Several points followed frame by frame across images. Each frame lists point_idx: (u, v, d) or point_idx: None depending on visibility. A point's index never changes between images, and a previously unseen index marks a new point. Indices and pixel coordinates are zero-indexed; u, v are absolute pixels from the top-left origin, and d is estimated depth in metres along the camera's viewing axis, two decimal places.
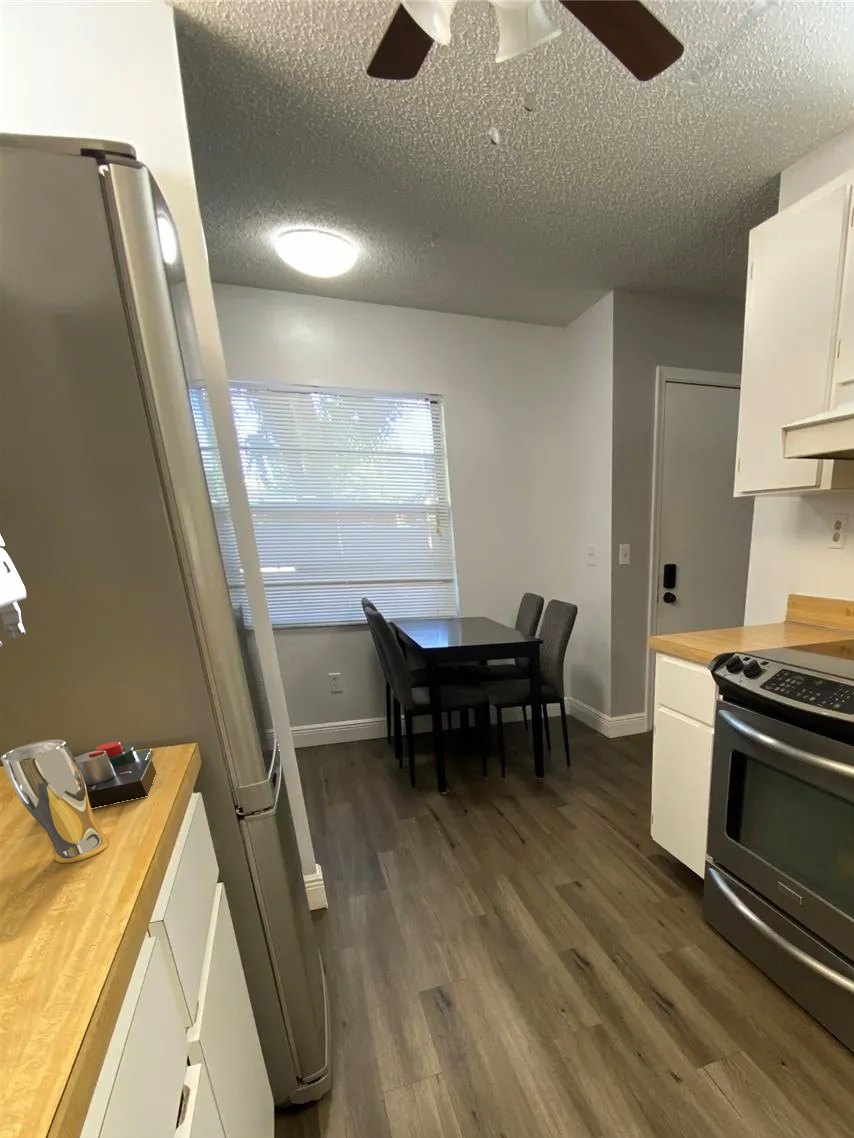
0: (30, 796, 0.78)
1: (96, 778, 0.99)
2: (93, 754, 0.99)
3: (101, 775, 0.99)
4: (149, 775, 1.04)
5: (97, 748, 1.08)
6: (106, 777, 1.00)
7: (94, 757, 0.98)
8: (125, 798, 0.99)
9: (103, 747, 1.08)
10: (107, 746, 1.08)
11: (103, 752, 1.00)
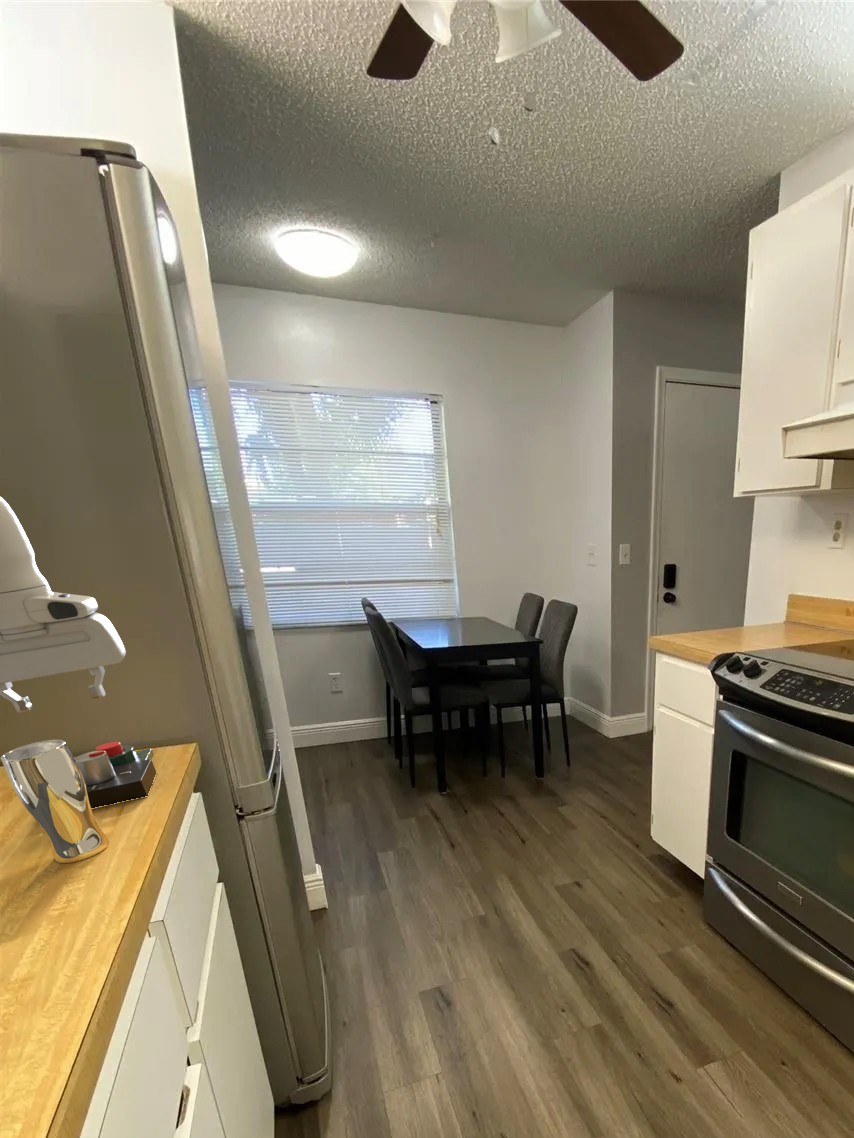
0: (30, 796, 0.78)
1: (96, 778, 0.99)
2: (93, 754, 0.99)
3: (101, 775, 0.99)
4: (149, 775, 1.04)
5: (97, 748, 1.08)
6: (106, 777, 1.00)
7: (94, 757, 0.98)
8: (125, 798, 0.99)
9: (103, 747, 1.08)
10: (107, 746, 1.08)
11: (103, 752, 1.00)
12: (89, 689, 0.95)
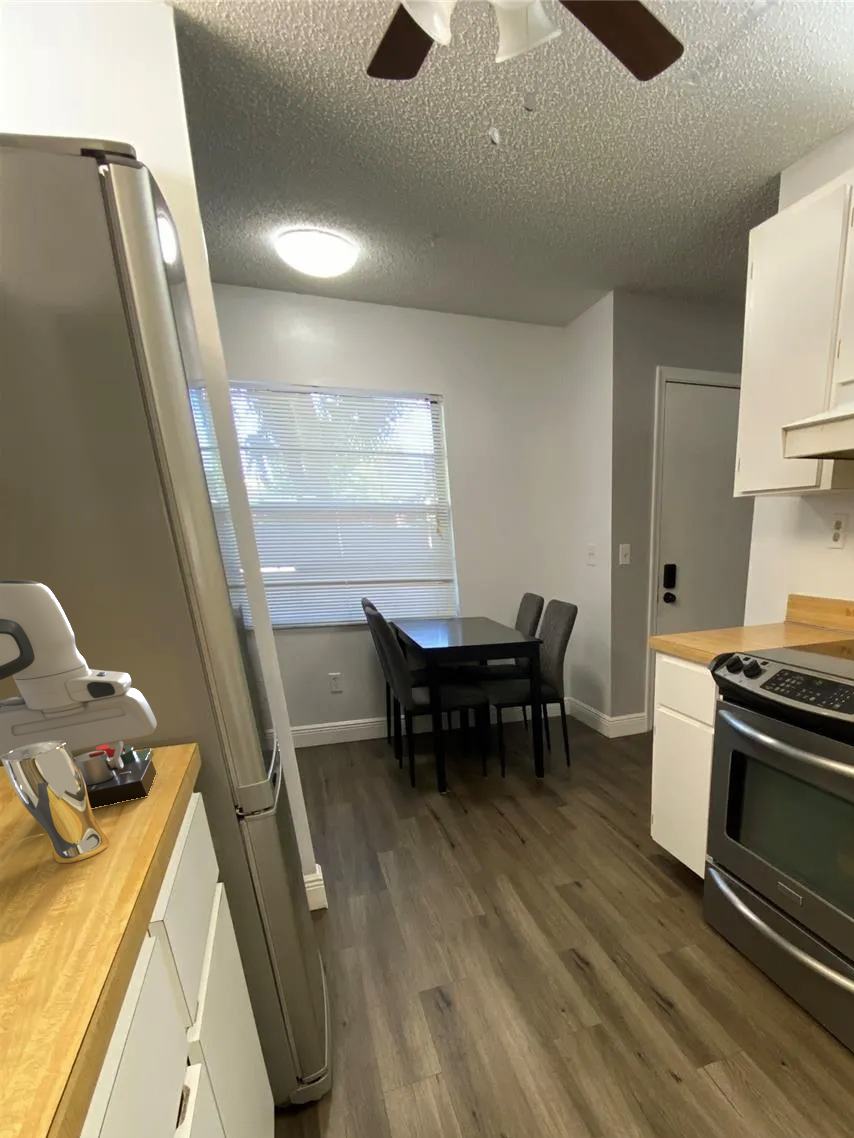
0: (30, 796, 0.78)
1: (96, 778, 0.99)
2: (93, 754, 0.99)
3: (101, 775, 0.99)
4: (149, 775, 1.04)
5: (97, 748, 1.08)
6: (106, 777, 1.00)
7: (94, 757, 0.98)
8: (125, 798, 0.99)
9: (103, 747, 1.08)
10: (107, 746, 1.08)
11: (103, 752, 1.00)
12: (109, 762, 1.00)
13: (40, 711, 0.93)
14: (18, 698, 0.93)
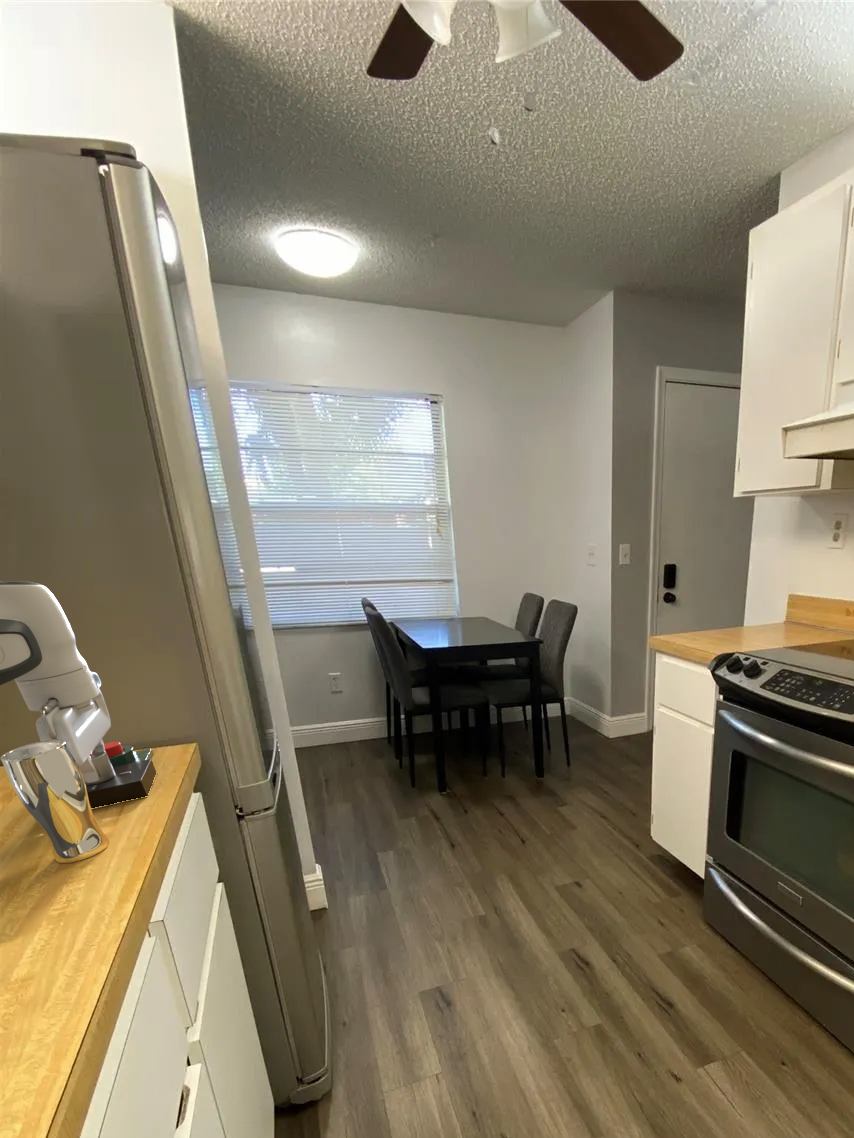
0: (30, 796, 0.78)
1: (113, 769, 1.02)
2: (91, 753, 1.00)
3: None
4: (149, 775, 1.04)
5: None
6: None
7: (100, 751, 1.01)
8: (125, 798, 0.99)
9: None
10: (107, 746, 1.08)
11: (93, 750, 1.01)
12: None
13: (75, 708, 0.94)
14: (54, 700, 0.91)
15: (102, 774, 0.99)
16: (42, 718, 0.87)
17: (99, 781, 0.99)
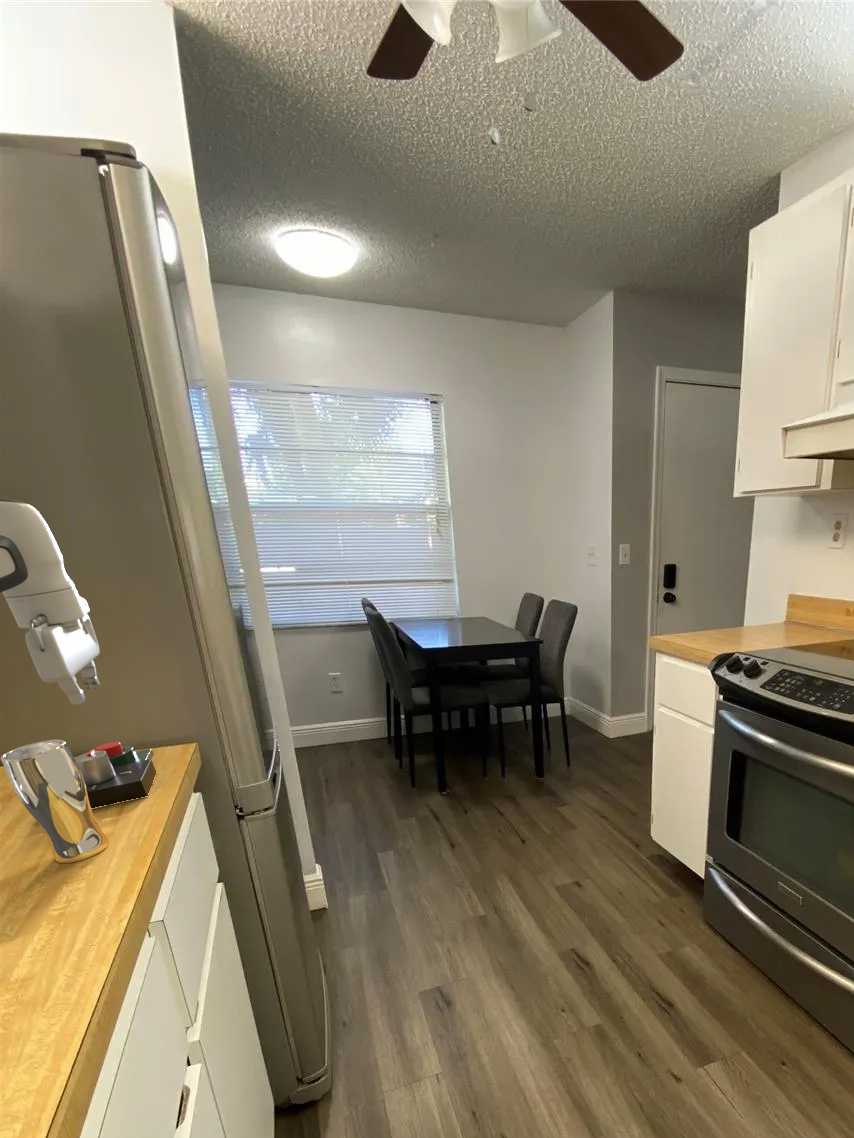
0: (30, 796, 0.78)
1: (113, 769, 1.02)
2: (91, 753, 1.00)
3: None
4: (149, 775, 1.04)
5: (97, 748, 1.08)
6: None
7: (100, 751, 1.01)
8: (125, 798, 0.99)
9: (103, 747, 1.08)
10: (107, 746, 1.08)
11: (93, 750, 1.01)
12: (95, 679, 1.08)
13: (64, 626, 0.98)
14: (42, 616, 0.95)
15: (102, 774, 0.99)
16: (31, 630, 0.91)
17: (99, 781, 0.99)
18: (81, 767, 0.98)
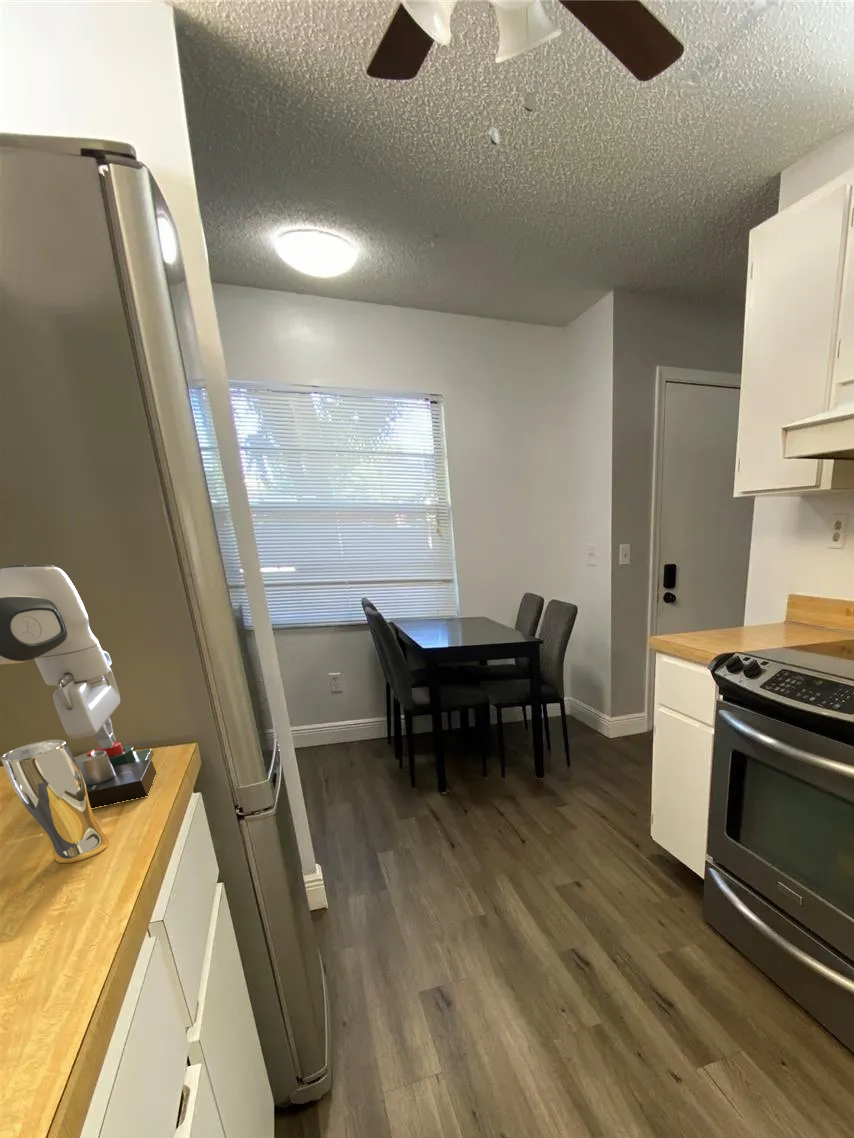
0: (30, 796, 0.78)
1: (113, 769, 1.02)
2: (91, 753, 1.00)
3: None
4: (149, 775, 1.04)
5: (97, 748, 1.08)
6: None
7: (100, 751, 1.01)
8: (125, 798, 0.99)
9: None
10: None
11: (93, 750, 1.01)
12: (111, 735, 1.08)
13: (89, 683, 1.02)
14: (69, 675, 0.99)
15: (102, 774, 0.99)
16: (59, 690, 0.95)
17: (99, 781, 0.99)
18: (81, 767, 0.98)
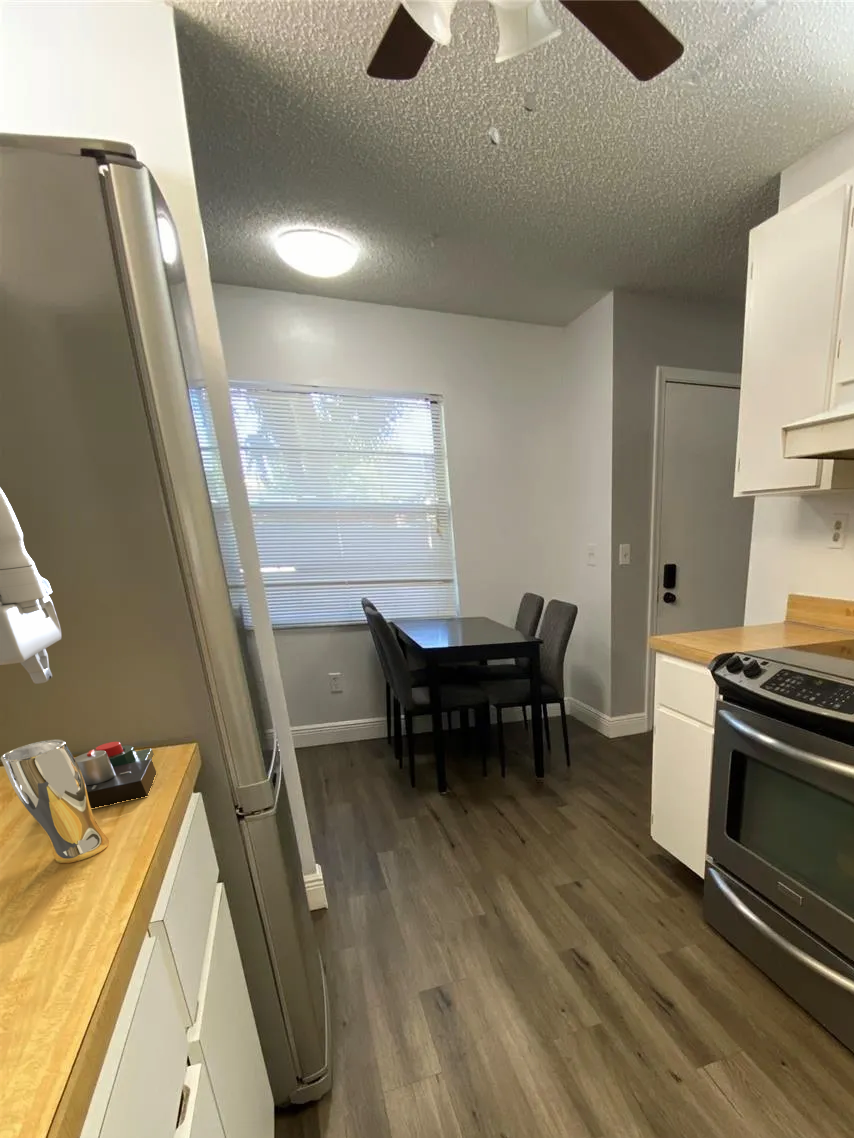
0: (30, 796, 0.78)
1: (113, 769, 1.02)
2: (91, 753, 1.00)
3: None
4: (149, 775, 1.04)
5: (97, 748, 1.08)
6: None
7: (100, 751, 1.01)
8: (125, 798, 0.99)
9: (103, 747, 1.08)
10: (107, 746, 1.08)
11: (93, 750, 1.01)
12: (47, 670, 0.98)
13: (20, 606, 0.92)
14: None
15: (102, 774, 0.99)
16: None
17: (99, 781, 0.99)
18: (81, 767, 0.98)
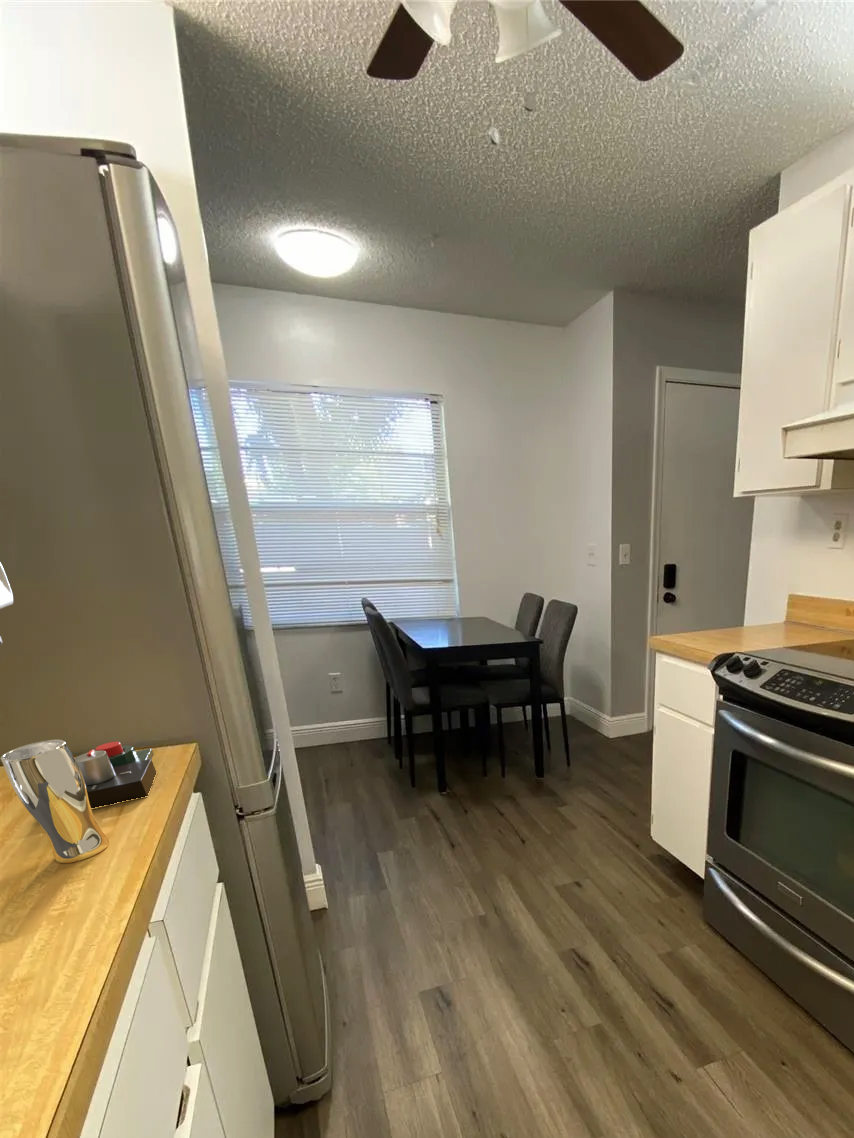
0: (30, 796, 0.78)
1: (113, 769, 1.02)
2: (91, 753, 1.00)
3: None
4: (149, 775, 1.04)
5: (97, 748, 1.08)
6: None
7: (100, 751, 1.01)
8: (125, 798, 0.99)
9: (103, 747, 1.08)
10: (107, 746, 1.08)
11: (93, 750, 1.01)
12: None
13: None
14: None
15: (102, 774, 0.99)
16: None
17: (99, 781, 0.99)
18: (81, 767, 0.98)
